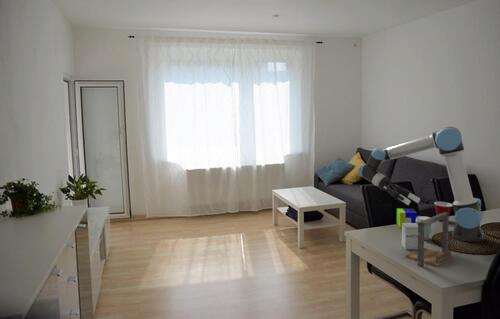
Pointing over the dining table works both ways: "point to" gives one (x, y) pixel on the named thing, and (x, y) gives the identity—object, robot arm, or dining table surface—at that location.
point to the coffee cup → (426, 228)
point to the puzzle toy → (406, 216)
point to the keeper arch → (426, 254)
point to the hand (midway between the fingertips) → (414, 202)
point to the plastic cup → (442, 208)
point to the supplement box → (410, 235)
